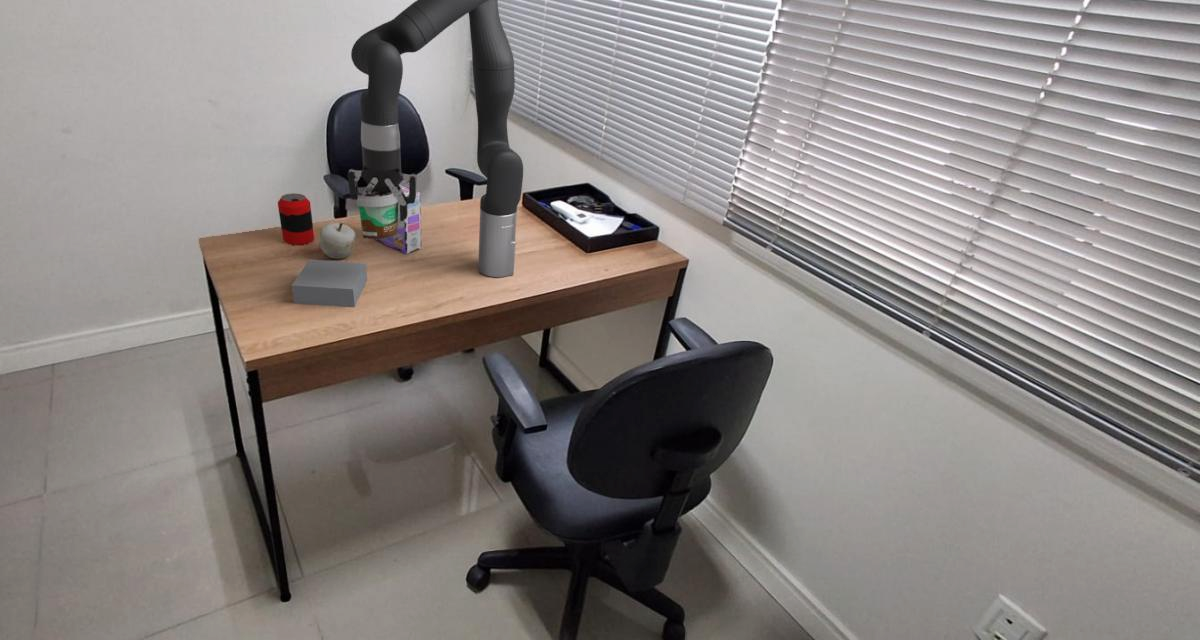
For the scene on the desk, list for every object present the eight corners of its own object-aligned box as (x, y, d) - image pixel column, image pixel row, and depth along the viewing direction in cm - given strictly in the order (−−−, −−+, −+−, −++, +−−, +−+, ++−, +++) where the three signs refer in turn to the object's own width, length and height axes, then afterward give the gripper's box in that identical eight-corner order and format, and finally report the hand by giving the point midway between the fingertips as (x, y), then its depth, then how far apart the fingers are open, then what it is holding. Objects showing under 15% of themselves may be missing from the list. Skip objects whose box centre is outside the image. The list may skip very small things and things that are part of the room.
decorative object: (320, 250, 160) (316, 215, 155) (355, 248, 164) (353, 213, 159) (321, 266, 154) (317, 229, 149) (359, 263, 157) (356, 227, 152)
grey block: (367, 281, 151) (365, 263, 148) (354, 308, 140) (353, 289, 137) (311, 277, 149) (309, 259, 146) (294, 304, 138) (291, 285, 135)
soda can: (287, 247, 160) (280, 204, 153) (280, 236, 164) (273, 193, 158) (317, 243, 164) (312, 201, 158) (310, 232, 169) (305, 190, 163)
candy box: (422, 248, 169) (421, 191, 161) (406, 255, 165) (403, 196, 156) (388, 233, 175) (385, 177, 166) (371, 238, 170) (367, 181, 162)
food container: (386, 246, 131) (383, 201, 126) (359, 240, 132) (356, 196, 127) (412, 225, 142) (411, 184, 136) (387, 220, 142) (385, 178, 137)
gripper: (418, 141, 131) (420, 214, 139) (347, 135, 128) (353, 210, 137) (415, 152, 125) (417, 227, 133) (340, 145, 122) (346, 223, 130)
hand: (384, 218), depth 135 cm, fingers closed on food container, 7 cm apart
